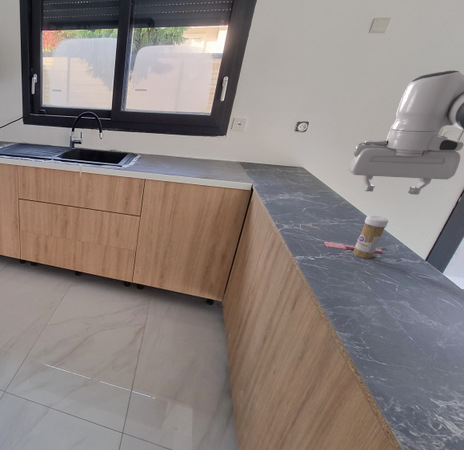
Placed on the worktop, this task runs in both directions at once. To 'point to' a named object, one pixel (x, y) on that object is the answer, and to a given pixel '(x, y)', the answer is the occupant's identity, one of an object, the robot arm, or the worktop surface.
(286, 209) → the worktop surface
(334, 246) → the spatula
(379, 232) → the sprinkles bottle
